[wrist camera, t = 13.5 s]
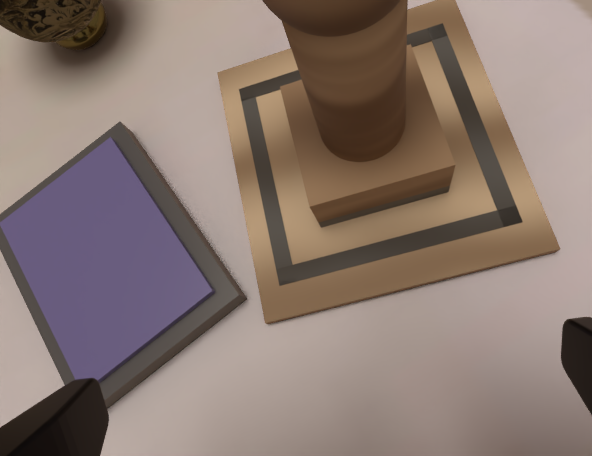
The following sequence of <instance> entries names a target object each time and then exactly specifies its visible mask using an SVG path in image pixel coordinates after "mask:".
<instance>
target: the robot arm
mask: <svg viewBox="0 0 592 456" xmlns="http://www.w3.org/2000/svg"><path fill="white" fill-rule="evenodd" d="M561 361H562V365H563V368H564V370H565V372H566V373H567V375H568V377H569V378H570V380H571V382H572V383H573V385H574V387H575V388H576V390H577V392H578V393H579V395H580V397H581V398H582V400H583V402H584V403H585V405H586V407H587V408H588V410H589V411H590V413H591V415H592V318H591V317H581V318H573V319H568V320H566V321H565V322H564V324H563V331H562V347H561ZM108 422H109V415H108V410H107V407H106V403H105V400H104V397H103V394H102V390H101V387H100V384H99V382H98V381H97V379H95V378H84V379H76V380H73V381H71V382H70V383H68V384H66V385H65V386H63V387H62V388H60V389H59V390H57V391H56V392H54V393H53V394H51V395H50V396H48V397H47V398H45V399H43V400H42V401H40V402H39V403H37V404H36V405H34V406H33V407H31V408H30V409H28V410H27V411H25V412H23V413H22V414H20V415H19V416H17V417H16V418H14V419H13V420H11V421H10V422H8V423H7V424H5V425H3V426H2V427H0V456H100V454H101V450H102V447H103V443H104V439H105V435H106V431H107V428H108Z"/></svg>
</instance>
